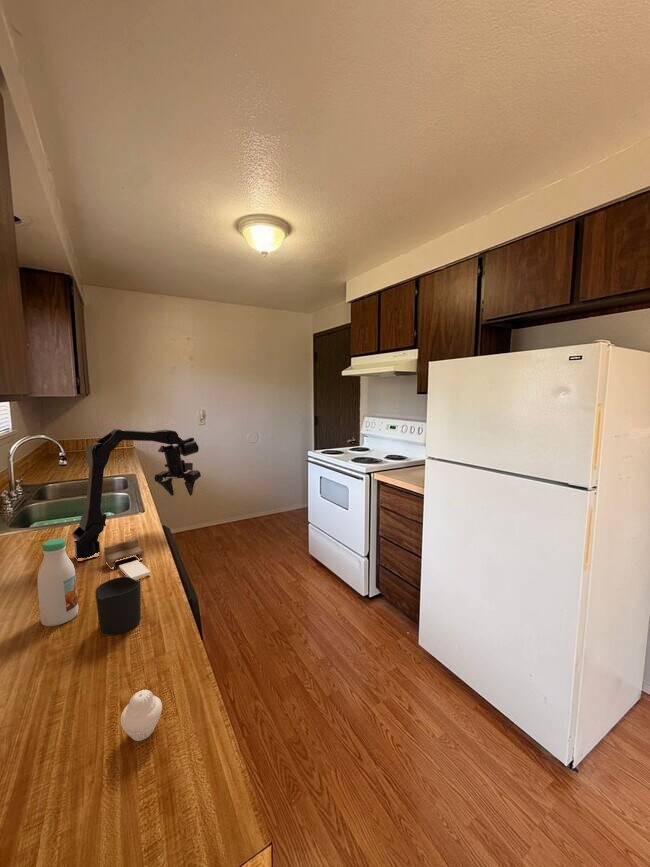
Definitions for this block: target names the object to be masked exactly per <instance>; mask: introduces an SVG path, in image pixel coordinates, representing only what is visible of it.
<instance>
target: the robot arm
mask: <svg viewBox="0 0 650 867" xmlns="http://www.w3.org/2000/svg"><path fill="white" fill-rule="evenodd" d="M122 441H137V442H138V441H139V442H140V441H141V442H143V441H144V442H155V443H158V444H159V443H160V444H165V445H160V447H159V448H158V450H157V452H158V453H163V454H164V457H165V461H166V462H165V463H166V464H164V467H165V468H167V470H163V471H160V472H158V473H157V474H155V475H154V482H155V483H157V484H158V485H160V486H162V487H163V488H164V489H165V491H166V492H168V494H169V495H170V496H172V497H173V496H174V495H175V494H174V492H175V491H174V487H173V479H183V480H184V486H185V488H186V490H187V493H188V495H189V497H191V496H193V492H194V488H195V487H194V486H195V482H196V481H197V480H198V479H199V478H200V477H201V476H202V474H201V472H200V471H199V470H198V469H197V470H194V469H193V468H194V467H193V466H194V465H193V462H186V461H185V460H184V459H182V456H183V457H187V456H190V455H194V454H197V453H198V452H199V449H200V447H199V445H198V443H197V441H196V440H195V438H194V437H188V438H187V439H182V438H181V437H180V436H179V434H178V432H177V431H176V430H172V429H157V430H153V431H151V430H150V431H146V430H145V431H144V430H129V429H118V428H115V429H112V430H111V432H109V433H108V434H105V435H104V436H103V437H101V438H99V439H98V440H97V441H96V442H91V443H89V444H88V445H87V446H86V448H85V454H86V456H85V457H86V462H87V465H88V480H87V490H86V500H85V501H86V502H85V503H86V504H85V509H84V511H83V512H82V515H81V518H80V521H79V525H78V526H77V528H75V530H74V531H73V532H72V534H71V535H72V537H73V539H74V542H73V544H74V554H75V556H76V558H77V559H78V558H87V557H90V556H92V555H94V554H95V553H98V552H100V553H101V546H100V541H99V536H100V534H101V533H102V532H103V531H104V528H105V527H107V524H106V520H107V514H106V513H104V512H103V511H102V509H101V507H102V495H103V484H104V475H105V474H104V473H105V468H106V467H107V464H108V462H109V459H110V457H111V456H110V455H111V453H112V452H113V451H114V450H115V449H116V448H117V446H118V445H119V444H120V443H121V442H122Z"/></svg>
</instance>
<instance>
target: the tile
mask: <svg viewBox="0 0 650 867" xmlns="http://www.w3.org/2000/svg"><path fill="white" fill-rule="evenodd" d="M119 568H120V569H121V570H122V571H123V573H124V574H125V575H126V576H127V577H130V578H132V579H134V580H136V579H139V578H141V577H144V576H147V575H150V574H151V575H152V571H151V570H150V569H148V567H147V566H145V564H143V563H142V561H141V562H139V561H138V560H137V559H136V560H132V561H130V562H126V563H123V564H119V565H118V569H119ZM123 573H122V574H123ZM124 574H123V575H124ZM125 575H124V576H125Z"/></svg>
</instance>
